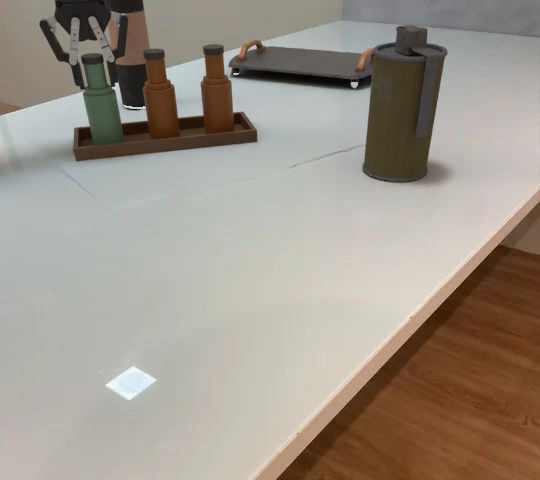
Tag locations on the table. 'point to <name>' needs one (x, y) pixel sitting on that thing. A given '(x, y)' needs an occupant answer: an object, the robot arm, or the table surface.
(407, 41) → the canister
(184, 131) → the row tray
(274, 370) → the table surface
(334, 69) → the serving tray
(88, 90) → the green bottle
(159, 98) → the amber bottle mid
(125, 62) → the travel mug
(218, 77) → the amber bottle far
